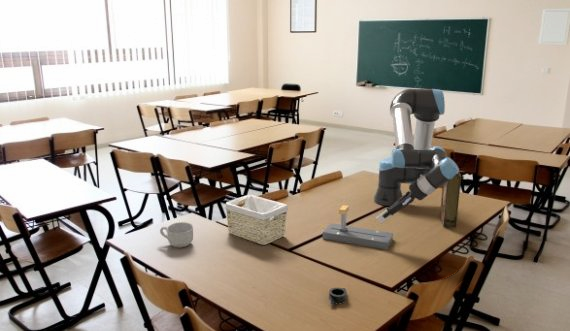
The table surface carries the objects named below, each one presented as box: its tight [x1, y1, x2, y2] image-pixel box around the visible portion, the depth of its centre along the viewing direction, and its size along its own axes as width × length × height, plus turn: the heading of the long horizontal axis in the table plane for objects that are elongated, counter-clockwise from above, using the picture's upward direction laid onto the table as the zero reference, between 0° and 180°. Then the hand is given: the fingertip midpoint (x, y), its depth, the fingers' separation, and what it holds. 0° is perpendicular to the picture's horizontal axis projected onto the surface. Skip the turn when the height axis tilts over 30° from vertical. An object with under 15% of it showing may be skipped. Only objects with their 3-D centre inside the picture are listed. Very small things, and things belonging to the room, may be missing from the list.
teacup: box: [159, 221, 194, 249], centre depth 198 cm, size 14×11×8 cm
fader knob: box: [338, 204, 350, 231], centre depth 205 cm, size 3×6×10 cm, turn 157°
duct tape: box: [328, 287, 348, 306], centre depth 157 cm, size 8×10×3 cm
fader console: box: [322, 223, 394, 250], centre depth 204 cm, size 28×11×3 cm, turn 67°
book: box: [439, 171, 462, 229], centre depth 221 cm, size 16×6×25 cm, turn 168°
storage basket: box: [224, 194, 289, 246], centre depth 207 cm, size 24×16×15 cm
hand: (378, 220), depth 199 cm, fingers closed
